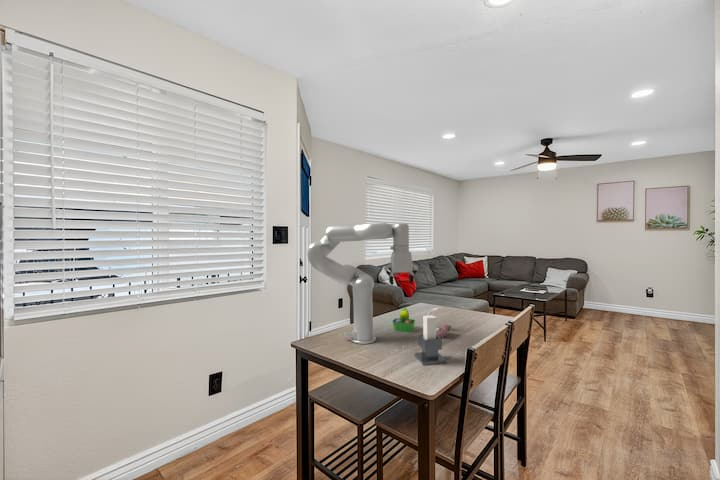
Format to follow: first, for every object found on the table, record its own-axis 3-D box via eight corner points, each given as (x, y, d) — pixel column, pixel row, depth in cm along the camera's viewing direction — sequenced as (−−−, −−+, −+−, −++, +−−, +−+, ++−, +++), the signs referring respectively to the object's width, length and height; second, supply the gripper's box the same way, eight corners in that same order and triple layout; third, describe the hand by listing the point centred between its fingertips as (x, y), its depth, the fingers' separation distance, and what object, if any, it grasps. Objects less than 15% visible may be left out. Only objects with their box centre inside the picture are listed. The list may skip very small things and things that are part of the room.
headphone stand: (436, 331, 167) (436, 309, 167) (425, 330, 170) (425, 308, 170) (439, 329, 171) (439, 307, 170) (429, 327, 174) (429, 306, 174)
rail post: (427, 347, 129) (427, 318, 128) (423, 343, 133) (423, 315, 132) (436, 346, 129) (436, 317, 129) (432, 342, 133) (432, 315, 133)
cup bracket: (423, 365, 125) (422, 341, 125) (414, 355, 135) (414, 333, 135) (446, 363, 127) (446, 339, 127) (436, 353, 137) (436, 332, 137)
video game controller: (442, 342, 156) (449, 330, 154) (434, 336, 158) (440, 325, 156) (448, 336, 164) (454, 325, 163) (440, 331, 166) (446, 320, 165)
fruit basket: (391, 330, 170) (391, 310, 170) (396, 326, 178) (396, 306, 178) (412, 333, 166) (412, 311, 165) (416, 328, 174) (415, 308, 173)
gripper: (385, 249, 147) (386, 285, 147) (420, 248, 150) (421, 284, 150) (381, 248, 154) (382, 283, 154) (415, 248, 157) (415, 282, 157)
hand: (401, 283), depth 152 cm, fingers open, 9 cm apart
